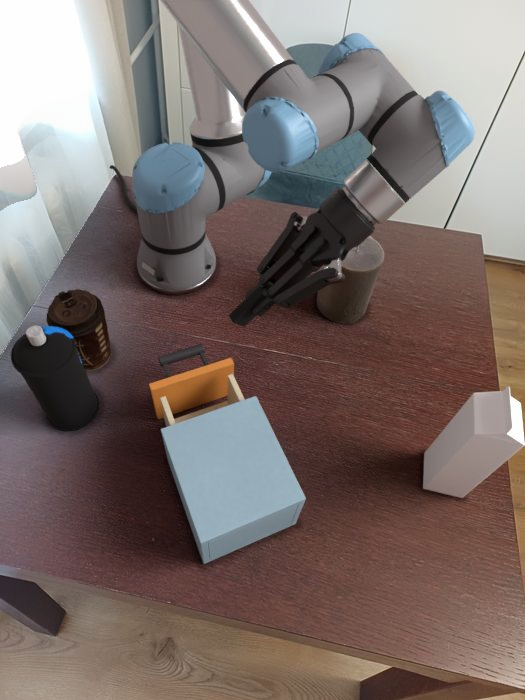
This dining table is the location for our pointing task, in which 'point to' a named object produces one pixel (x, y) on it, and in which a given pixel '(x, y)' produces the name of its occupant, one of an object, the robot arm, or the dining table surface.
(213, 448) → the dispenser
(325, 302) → the pillar candle
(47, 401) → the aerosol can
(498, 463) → the milk
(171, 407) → the orange drawer
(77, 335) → the coffee cup
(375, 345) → the dining table surface
